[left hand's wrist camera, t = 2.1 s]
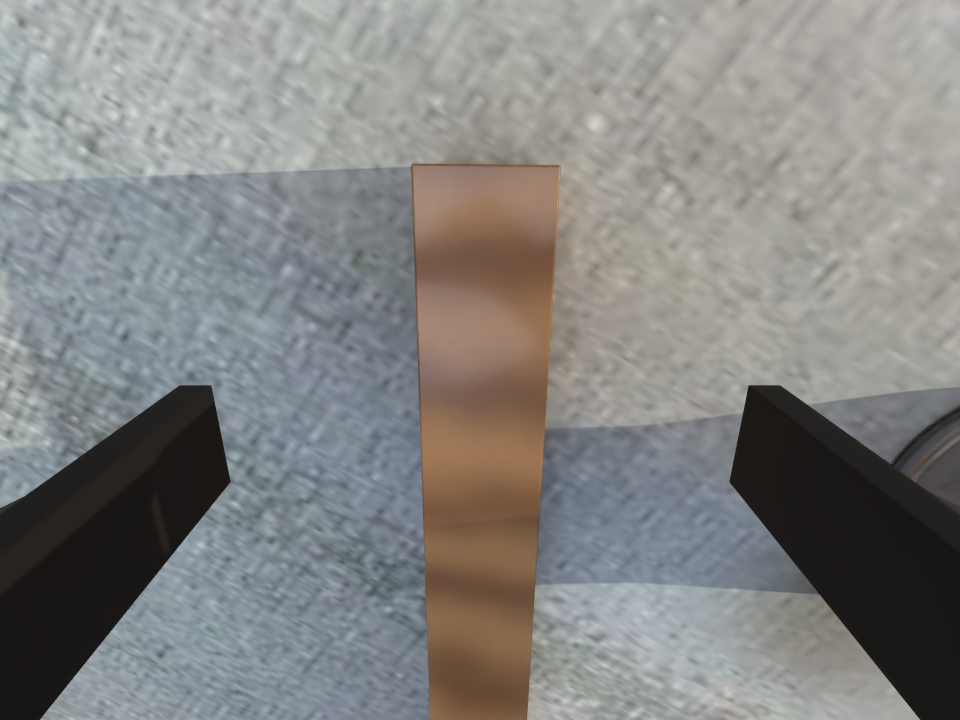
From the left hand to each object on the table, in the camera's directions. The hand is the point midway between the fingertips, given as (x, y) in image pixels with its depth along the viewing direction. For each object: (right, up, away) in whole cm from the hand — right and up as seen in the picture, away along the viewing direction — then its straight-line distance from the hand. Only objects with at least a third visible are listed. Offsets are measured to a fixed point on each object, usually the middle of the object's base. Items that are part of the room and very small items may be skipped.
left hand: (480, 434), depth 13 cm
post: (0, -22, +24) cm, 33 cm away
